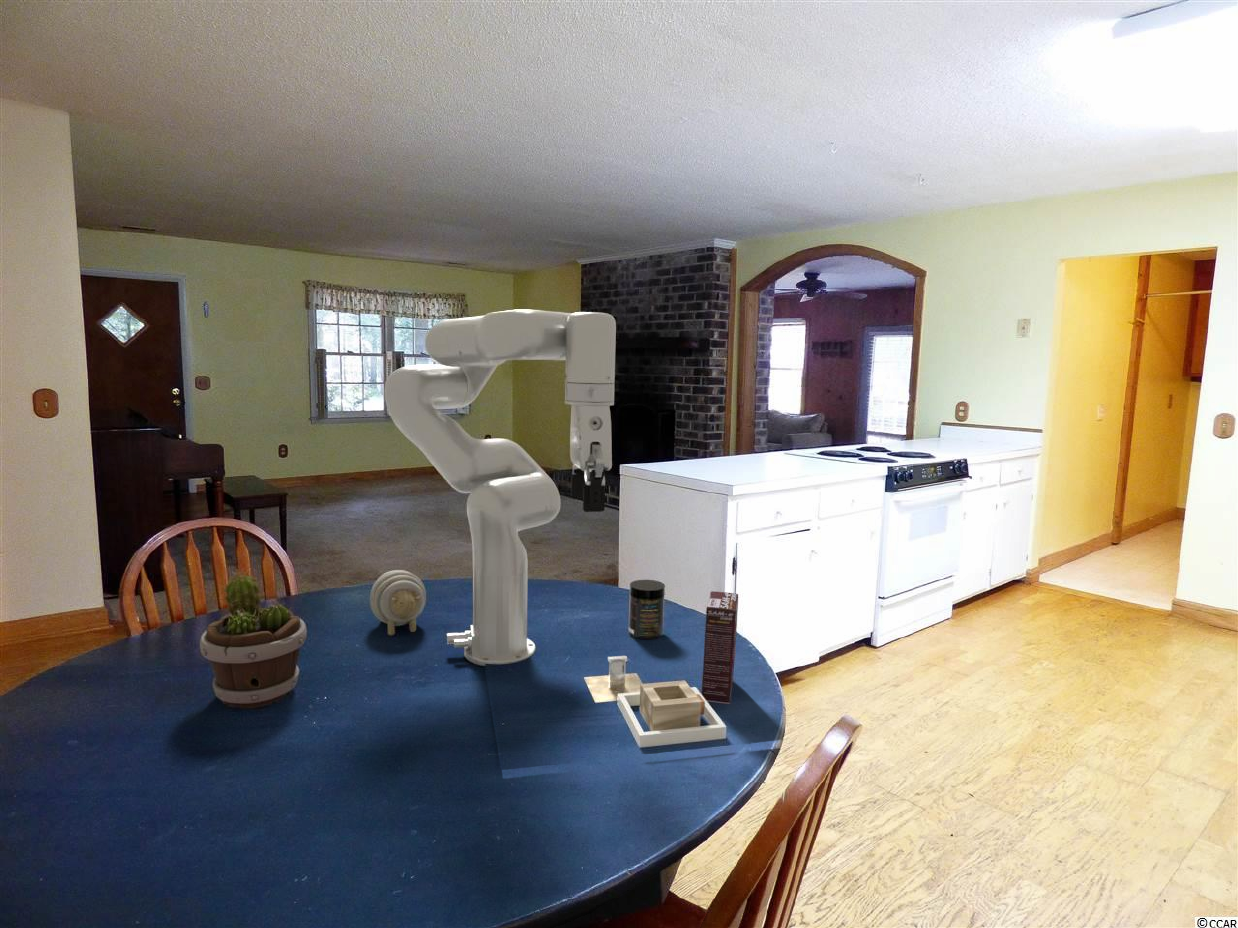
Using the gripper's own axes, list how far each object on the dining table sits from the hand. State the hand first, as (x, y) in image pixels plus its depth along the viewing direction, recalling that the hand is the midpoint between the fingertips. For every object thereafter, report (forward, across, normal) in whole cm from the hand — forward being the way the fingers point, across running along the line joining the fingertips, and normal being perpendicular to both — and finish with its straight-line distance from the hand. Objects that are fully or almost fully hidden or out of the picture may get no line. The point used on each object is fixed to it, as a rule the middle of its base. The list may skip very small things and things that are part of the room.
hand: (587, 504), depth 115 cm
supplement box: (+31, -6, -21) cm, 37 cm away
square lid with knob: (+30, -2, -5) cm, 31 cm away
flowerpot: (+31, +7, +50) cm, 59 cm away
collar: (+30, -14, -10) cm, 34 cm away
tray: (+30, -14, -10) cm, 35 cm away
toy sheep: (+31, +33, +30) cm, 54 cm away
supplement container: (+31, +19, -16) cm, 39 cm away
